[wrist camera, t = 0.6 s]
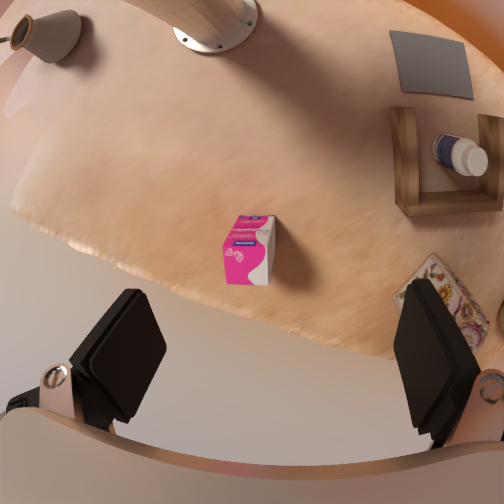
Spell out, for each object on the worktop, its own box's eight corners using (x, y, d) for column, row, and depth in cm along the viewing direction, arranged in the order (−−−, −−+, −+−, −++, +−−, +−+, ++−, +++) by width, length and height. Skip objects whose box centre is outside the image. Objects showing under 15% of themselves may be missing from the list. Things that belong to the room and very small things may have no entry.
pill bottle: (434, 168, 35) (465, 184, 26) (428, 135, 33) (460, 144, 24) (459, 163, 33) (492, 178, 25) (454, 131, 31) (489, 139, 23)
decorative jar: (390, 295, 47) (417, 369, 31) (431, 250, 41) (478, 315, 26) (424, 319, 48) (451, 386, 33) (462, 280, 43) (502, 342, 27)
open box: (389, 107, 32) (403, 106, 27) (483, 114, 28) (504, 118, 23) (395, 203, 39) (408, 216, 34) (483, 198, 35) (502, 210, 30)
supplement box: (275, 213, 43) (269, 247, 33) (276, 247, 45) (270, 288, 35) (238, 213, 44) (221, 246, 34) (241, 247, 46) (226, 286, 36)
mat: (389, 31, 26) (390, 30, 26) (462, 43, 23) (463, 42, 23) (401, 91, 31) (402, 91, 30) (472, 98, 28) (473, 98, 27)
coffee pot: (96, 9, 28) (40, -6, 14) (78, 63, 33) (18, 62, 20) (33, 22, 27) (-15, 20, 14) (21, 67, 33) (-29, 72, 20)
